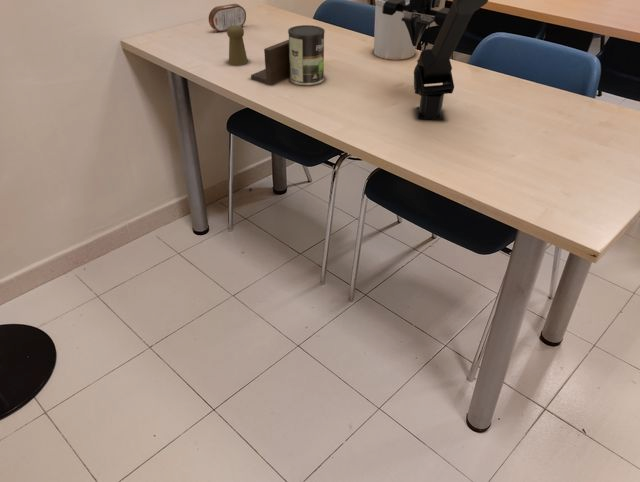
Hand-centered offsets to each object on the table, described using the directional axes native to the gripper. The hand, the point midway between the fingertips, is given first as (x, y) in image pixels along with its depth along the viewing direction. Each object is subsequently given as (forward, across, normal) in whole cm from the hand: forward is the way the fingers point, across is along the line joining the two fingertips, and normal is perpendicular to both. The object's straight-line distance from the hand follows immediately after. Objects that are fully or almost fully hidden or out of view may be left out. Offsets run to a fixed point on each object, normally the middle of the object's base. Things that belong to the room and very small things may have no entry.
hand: (414, 45), depth 134 cm
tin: (+16, +82, -18) cm, 86 cm away
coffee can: (+14, +30, +8) cm, 34 cm away
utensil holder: (+15, +19, -28) cm, 37 cm away
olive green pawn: (+15, +56, +8) cm, 59 cm away
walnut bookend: (+14, +39, +7) cm, 42 cm away
